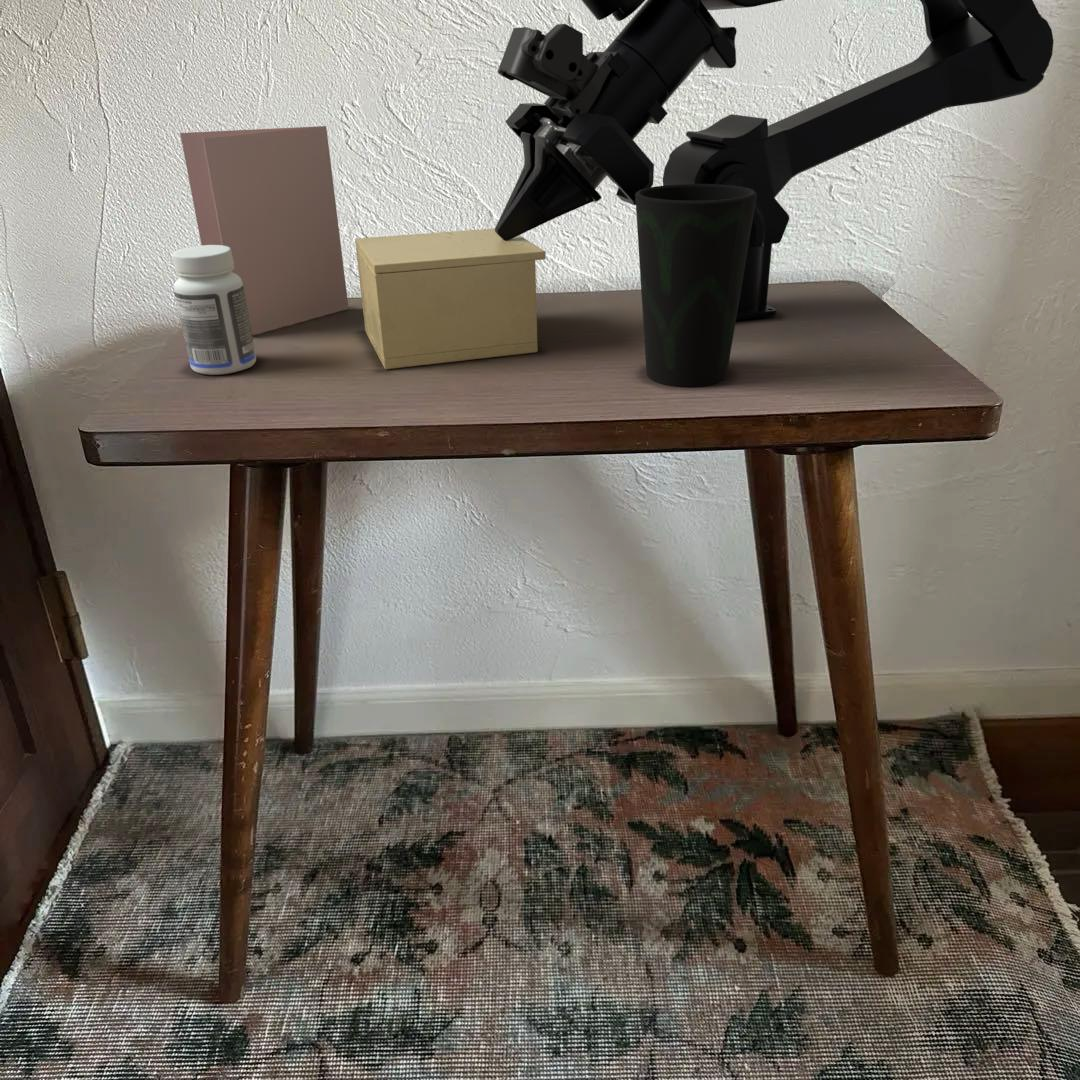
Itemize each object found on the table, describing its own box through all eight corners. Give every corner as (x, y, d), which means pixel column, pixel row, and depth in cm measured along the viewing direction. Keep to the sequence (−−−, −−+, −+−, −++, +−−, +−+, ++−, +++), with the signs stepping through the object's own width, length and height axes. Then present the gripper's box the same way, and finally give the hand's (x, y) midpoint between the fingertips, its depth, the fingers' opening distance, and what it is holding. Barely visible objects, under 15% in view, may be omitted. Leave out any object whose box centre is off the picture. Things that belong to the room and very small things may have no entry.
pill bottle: (237, 352, 72) (217, 240, 68) (268, 365, 69) (249, 248, 65) (179, 367, 70) (154, 251, 66) (209, 380, 67) (185, 260, 63)
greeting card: (347, 306, 84) (325, 125, 77) (355, 327, 78) (331, 132, 71) (216, 318, 82) (180, 132, 75) (212, 340, 76) (173, 140, 69)
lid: (507, 234, 77) (507, 227, 76) (546, 259, 68) (545, 251, 67) (355, 246, 74) (354, 238, 73) (374, 273, 65) (373, 265, 64)
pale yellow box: (501, 318, 80) (498, 235, 76) (537, 352, 71) (535, 260, 67) (365, 332, 77) (355, 247, 74) (384, 369, 68) (374, 274, 65)
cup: (758, 387, 62) (775, 197, 57) (647, 396, 61) (653, 204, 56) (720, 353, 69) (732, 181, 63) (619, 361, 68) (622, 187, 62)
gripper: (528, -12, 73) (399, 147, 75) (615, -29, 57) (447, 173, 59) (620, 97, 78) (497, 242, 81) (722, 110, 62) (565, 289, 65)
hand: (499, 236), depth 71 cm, fingers closed, pressing on lid
